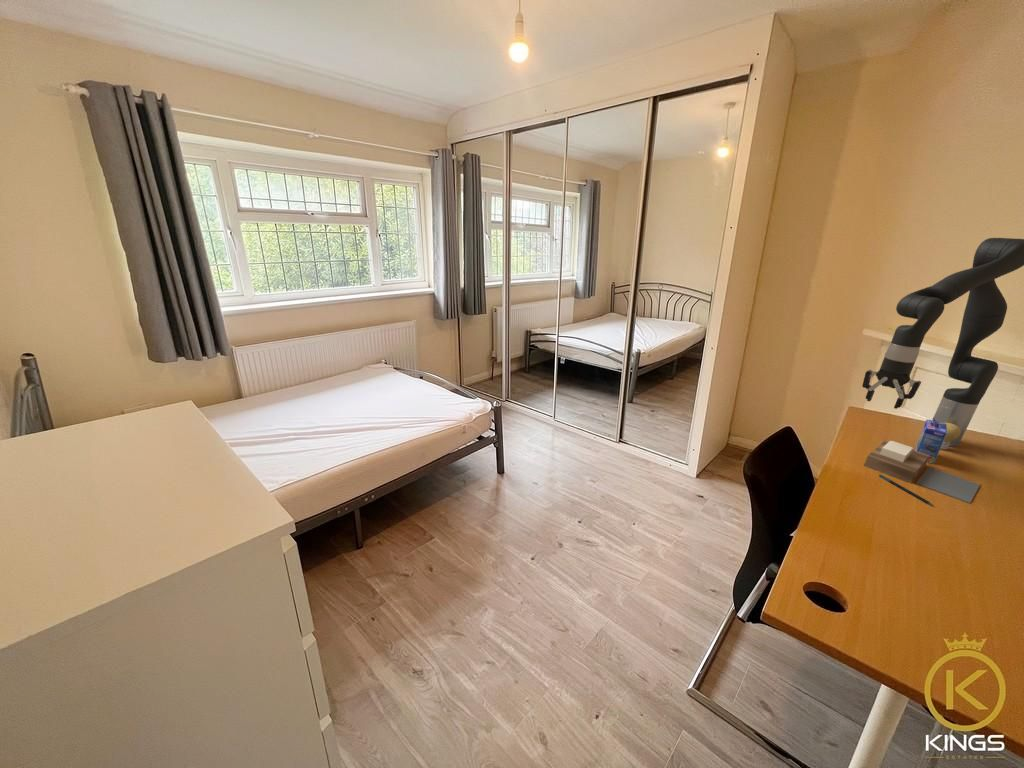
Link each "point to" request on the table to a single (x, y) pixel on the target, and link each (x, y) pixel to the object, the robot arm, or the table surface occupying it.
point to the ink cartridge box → (931, 439)
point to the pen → (906, 490)
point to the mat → (948, 484)
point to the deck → (897, 464)
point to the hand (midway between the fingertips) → (882, 404)
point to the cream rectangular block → (896, 451)
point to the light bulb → (950, 434)
